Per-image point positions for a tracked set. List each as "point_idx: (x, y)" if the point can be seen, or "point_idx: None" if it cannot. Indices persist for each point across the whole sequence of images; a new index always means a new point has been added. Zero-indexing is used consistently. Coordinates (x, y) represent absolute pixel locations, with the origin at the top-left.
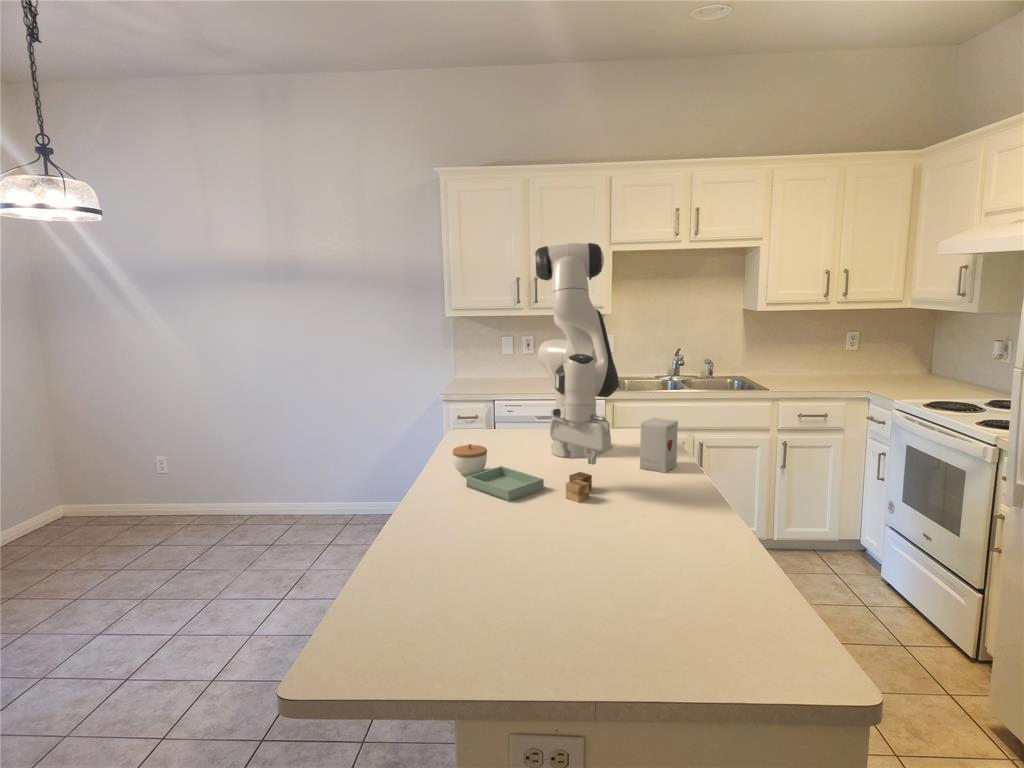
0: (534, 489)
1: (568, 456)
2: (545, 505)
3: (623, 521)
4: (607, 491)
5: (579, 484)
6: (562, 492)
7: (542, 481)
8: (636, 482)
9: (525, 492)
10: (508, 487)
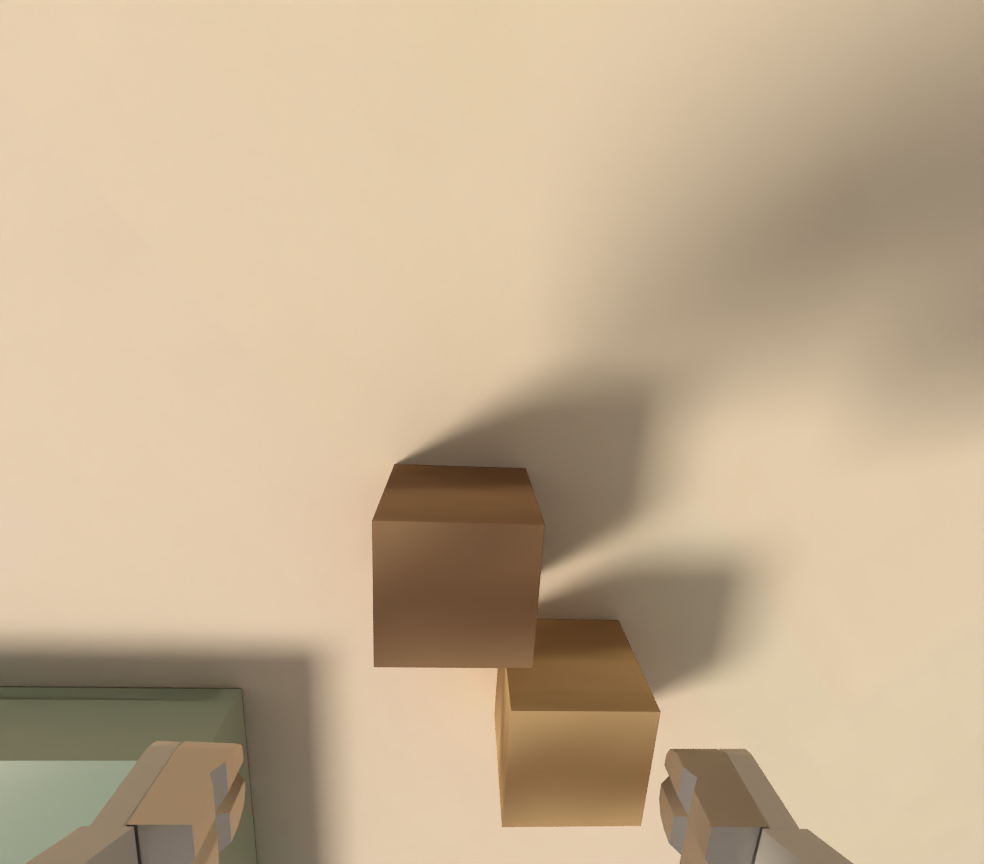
0: None
1: (227, 785)
2: (472, 857)
3: (977, 757)
4: (649, 416)
5: (610, 779)
6: None
7: None
8: (753, 2)
9: (244, 857)
10: None
